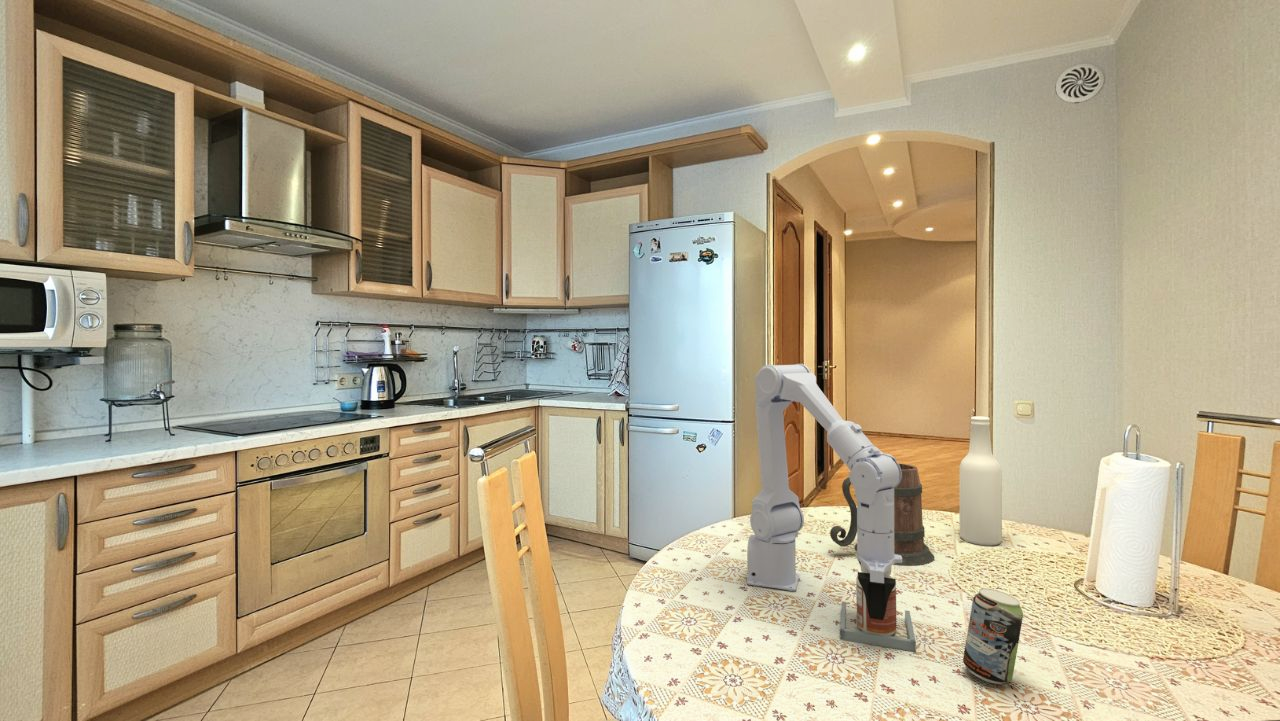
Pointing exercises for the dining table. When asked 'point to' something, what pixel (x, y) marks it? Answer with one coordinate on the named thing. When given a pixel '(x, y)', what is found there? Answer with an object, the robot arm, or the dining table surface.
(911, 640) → the bracket
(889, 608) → the pill bottle
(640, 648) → the dining table surface
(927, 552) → the tankard
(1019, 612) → the beverage can
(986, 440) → the alcohol
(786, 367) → the robot arm
